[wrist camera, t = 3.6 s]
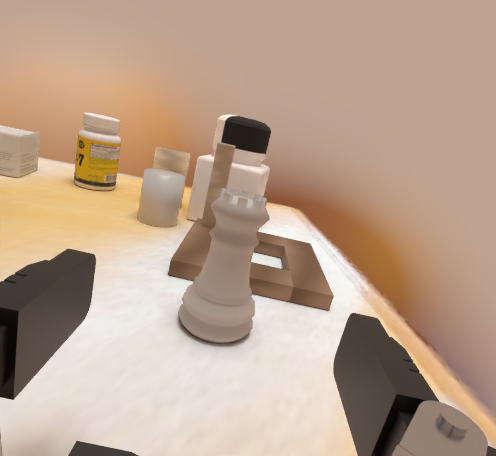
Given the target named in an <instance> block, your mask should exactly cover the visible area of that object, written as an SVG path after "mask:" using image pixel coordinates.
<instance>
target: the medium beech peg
mask: <svg viewBox="0 0 496 456" xmlns="http://www.w3.org/2000/svg"><path fill="white" fill-rule="evenodd" d="M189 160H190V154H188V153H186V152H183V151H179V150H175V149H170V148H164V147H156V151H155V158H154V164H153V168H154V169H162V170H168V171H172V172H176V173H179V174H181V175H183V176H185V181H184V187H185V182H186V176H187V170H188V165H189ZM184 187H183V192H182V198H183V193H184ZM182 198H181V203H180V208H181V204H182Z"/></svg>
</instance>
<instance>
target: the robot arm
mask: <svg viewBox="0 0 496 456" xmlns="http://www.w3.org/2000/svg"><path fill="white" fill-rule="evenodd" d="M95 265H96V258H95V255H94V254H90V253H86V252H81V251H77V250H73V249H67V250H65V251H64V252H62V253H61V254H59V255H57V256H56V257H54V258H53V259H51V260H50V261H48V260H44V261H40V262H37V263H33V264H30V265H27V266H26V267H24V268H22V269H21V270H19V271H17V272H16V273H15V275H11V276H9V277H8V278H6V279H4V282H3V281H1V282H0V397H2V398H7V399H12V400H14V399H15V397H16V396H17V395H18V394H19V393H20V392H21V391H22V389H23V388H24V387H25V386H26V385H27V384H28V383H29V382H30V380H31V379H32V378H33V377H34V376H35V375H36V374H37V373H38V371H39V370H40V369H41V368H42V367H43V366H44V365H45V363H46V362H47V361H48V360H49V359H50V358H51V357H52V356H53V354H54V353H55V352H56V351H57V350H58V349H59V348H60V347H61V345H62V344H63V343H64V342H65V341H66V340H67V339H68V337H69V336H70V335H71V334H72V333H73V332H74V331H75V330H76V328H77V327H78V326H79V325H80V324H81V323H82V322H83V320H84V319H85V317H86V315H87V313H88V311H89V308H90V304H91V298H92V290H93V282H94V273H95ZM333 370H334V377H335V381H336V384H337V387H338V391H339V394H340V397H341V401H342V404H343V407H344V411H345V414H346V417H347V421H348V424H349V427H350V431H351V434H352V437H353V441H354V444H355V447H356V451H357V454H358V456H496V449H494V448H492V447H490V446H488V442H487V439H486V437H485V435H484V433H483V432H482V430H481V429H480V428H479V427H478V426H477V425H476V424H475V423H474V422H473V421H472V420H471V419H470V418H469V417H467V416H466V415H465V414H463V413H462V412H460V411H459V410H457V409H455V408H453V407H451V406H449V405H447V404H444V403H441V402H439V400H438V399H437V397H436V396H435V394H434V393H433V391H432V390H431V388H430V387H429V385H428V383H427V382H426V380H425V379H424V377H423V376H422V374H420V373H419V370H418V368H417V367H416V365H415V363H413V360H412V359H411V357H410V356H409V354H408V353H407V351H406V350H405V349H404V348H403V347H402V346H401V345H400V344H399V343H398V342H397V341H395V340H394V339H393V338H392V337H389V336H388V334H387V333H386V331H385V329H384V328H383V326H382V324H381V323H380V321H379V320H378V319H377V318H374V317H370V316H365V315H361V314H356V313H352V314H351V315H350V316H349V318H348V320H347V323H346V326H345V329H344V332H343V335H342V338H341V341H340V343H339V346H338V349H337V352H336V355H335V359H334V368H333ZM0 456H2V446H1V434H0ZM68 456H138V455H136V454H134V453H132V452H129V451H124V450H119V449H114V448H109V447H104V446H99V445H94V444H89V443H84V442H80V441H76V443H75V445H74V447H73V448H72V450H71V452H70V454H69V455H68Z"/></svg>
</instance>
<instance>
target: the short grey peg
mask: <svg viewBox="0 0 496 456" xmlns="http://www.w3.org/2000/svg"><path fill="white" fill-rule="evenodd" d="M184 181H185V176H183V175H181V174H179V173H176V172H172V171H168V170H162V169H154V168H148V169H145V170H144V176H143V183H142V190H141V197H140V203H139V210H138V217H137V219H138V220H139V221H140V222H142V223H144V224H147V225H151V226H155V227H174V226H176V225H177V220H178V214H179V209H180V203H181V198H182V192H183V187H184Z"/></svg>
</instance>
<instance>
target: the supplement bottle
mask: <svg viewBox="0 0 496 456" xmlns="http://www.w3.org/2000/svg"><path fill="white" fill-rule="evenodd" d="M83 126H85V128H84V129H82V130H80V132H79V134H78V146H77V155H76V165H75V176H74V182H75V184H77V185H78V186H80V187H83V188H86V189H92V190H102V191H107V190H112V189H114V188H115V185H116V177H117V169H118V161H119V153H120V146H121V139H120V137H119V136H117V132H119V128H120V121H119V120H118V119H115V118H111V117H106V116H102V115H97V114H92V113H84V117H83Z"/></svg>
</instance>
